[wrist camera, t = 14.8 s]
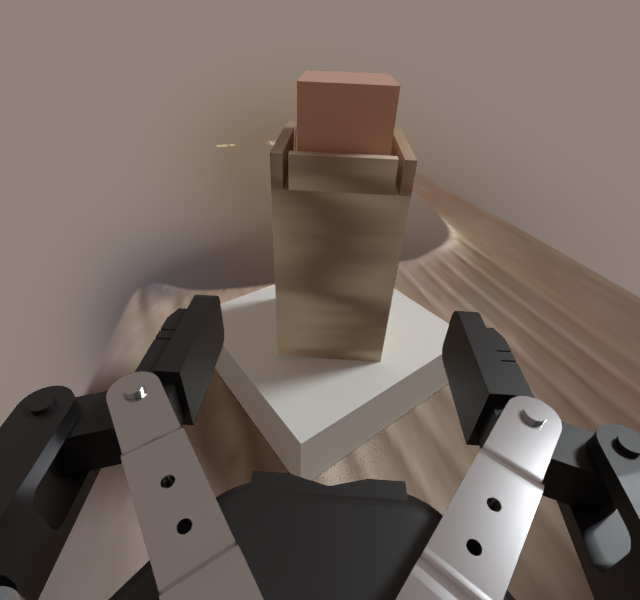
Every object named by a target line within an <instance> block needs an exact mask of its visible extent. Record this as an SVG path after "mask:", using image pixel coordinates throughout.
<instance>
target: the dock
mask: <svg viewBox="0 0 640 600" xmlns="http://www.w3.org/2000/svg"><path fill="white" fill-rule="evenodd" d="M220 305H221V312H222V318H223V325H224V343H223V347H222V350H221V353H220V355H219V358H218V361H217V363H216V366H215V369H216V371H217V372H218V374H219V375H220V376H221V378H222V379H223V380H224V382H225V383H226V385H227V386H228V387H229V389H230V390H231V392H232V393H233V394H234V396H235V397H236V399H237V400H238V401H239V403H240V404H241V406H242V407H243V408H244V410H245V411H246V413H247V414H248V415H249V417H250V418H251V420H252V421H253V422H254V424H255V425H256V427H257V428H258V429H259V431H260V432H261V434H262V435H263V436H264V438H265V439H266V441H267V442H268V443H269V445H270V446H271V448H272V449H273V450H274V452H275V453H276V455H277V456H278V457H279V459H280V460H281V462H282V463H283V464H284V466H285V467H286V469H287V470H288V471H289V473H290V474H293V475H296V476H299V477H302V478H305V479H308V480H313V479H314V478H316V477H317V476H318V475H320V474H321V473H323V472H324V471H325V470H327V469H328V468H330V467H331V466H332V465H334V464H335V463H337V462H338V461H340V460H341V459H342V458H344V457H345V456H347V455H348V454H349V453H351V452H352V451H354V450H355V449H356V448H358V447H359V446H361V445H362V444H364V443H365V442H366V441H368V440H369V439H371V438H372V437H373V436H375V435H376V434H378V433H379V432H380V431H382V430H383V429H385V428H386V427H388V426H389V425H390V424H392V423H393V422H395V421H396V420H397V419H399V418H400V417H402V416H403V415H404V414H406V413H407V412H409V411H410V410H411V409H413V408H414V407H416V406H417V405H419V404H420V403H421V402H423V401H424V400H426V399H427V398H428V397H430V396H431V395H433V394H434V393H435V392H437V391H438V390H440V389H441V388H443V387H444V386H445V385H447V384H448V383H449V382H448V378H447V375H446V371H445V368H444V364H443V360H442V347H443V343H444V340H445V336H446V333H447V330H448V327H449V324H448V323H446V322H445V321H443V320H442V319H440V318H439V317H437V316H436V315H434V314H432V313H431V312H429V311H428V310H426V309H425V308H423V307H422V306H420V305H419V304H417V303H416V302H414V301H412V300H411V299H409V298H408V297H406V296H405V295H403V294H402V293H400V292H399V291H397V290H396V289H394V291H393V296H392V302H391V307H390V313H389V318H388V324H387V329H386V335H385V340H384V346H383V351H382V357H381V362H375V361H359V360H342V359H326V358H309V357H293V356H278V342H277V317H276V292H275V284H274V285H271V286H268V287H266V288H263V289H260V290H257V291H255V292H252V293H249V294H247V295H244V296H241V297H238V298H236V299H233V300H230V301H227V302H225V303H222V304H220Z"/></svg>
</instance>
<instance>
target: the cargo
mask: <svg viewBox="0 0 640 600" xmlns="http://www.w3.org/2000/svg"><path fill="white" fill-rule="evenodd" d="M399 90H400V85H399V84H398V83H397V82H396V80H395V79H394V78H393V77H392V76H391V75H390V74H377V73H357V72H336V71H335V72H334V71H314V70H305V71H304V73H303V74H302V75H301V77H300V78H299V79H298V81H297V151H308V152H328V153H347V154H367V155H387V156H390V155H391V148H392V141H393V133H394V126H395V119H396V111H397V105H398V98H399Z"/></svg>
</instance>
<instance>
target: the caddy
mask: <svg viewBox="0 0 640 600" xmlns="http://www.w3.org/2000/svg"><path fill="white" fill-rule="evenodd" d="M416 165H417V159H416V157H415V155H414V153H413V151H412V149H411V148H410V146H409V144H408V142H407V140H406V138H405V136H404V134H403V132H402V130H401V128H400V127H394V133H393V141H392V148H391V155H390V156H387V155H367V154H347V153H328V152H308V151H297V122H290V121H289V122H288V121H287V123H286V125H285V126H284V128H283V130H282V132H281V134H280V136H279V137H278V139H277V141H276V143H275V145H274V146H273V149H272V150H271V152H270V167H271V193H272V217H273V242H274V266H275V292H276V317H277V342H278V356H293V357H309V358H326V359H342V360H359V361H375V362H381V357H382V351H383V346H384V340H385V335H386V329H387V324H388V318H389V313H390V307H391V302H392V296H393V291H394V286H395V280H396V275H397V269H398V264H399V258H400V253H401V247H402V242H403V236H404V231H405V225H406V220H407V214H408V208H409V203H410V198H411V193H412V187H413V182H414V176H415V171H416Z"/></svg>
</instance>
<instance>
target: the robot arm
mask: <svg viewBox="0 0 640 600" xmlns="http://www.w3.org/2000/svg"><path fill="white" fill-rule="evenodd" d="M223 343H224V325H223V318H222V312H221V305H220V299H219V297H218V296H209V295H195V296H194V297H193V299H192V301H191V303H190V305H189V306H188V308H187V309H182V308H179V309H178V310H176V311H175V312H174V313H173V314H171V315H170V316H169V317H167V319H166V321H165V322H164V324H163V326H162V327H161V331H159V333H158V334H157V336H156V339H155V340H154V341H153V343H152V344H151V346H150V348H149V349H148V351H147V353H146V354H145V356H144V358H143V359H142V361H141V363H140V364H139V366H138V368H137V369H136V371H135V372H134V373H130V374H128V375H125V376H123V377H121V378H120V379H118V380H117V381H116V382H114V383H113V384H112V386H111V387H110V388H109V390H108V391H105V392H101V393H95V394H90V395H85V396H80V397H75V396H74V394H73V392H72V391H71V390H70V389H69V388H67V387H63V386H51V387H46V388H43V389H40V390H38V391H35V392H33V393H32V394H30V395H28V396H27V397H26V398H24V399H23V400H22V401H21V402H20V403H19V404H18V405H17V406H16V408H15V409H14V410H13V411H12V413H11V414H10V415H9V417H8V418H7V419H6V421H5V422H4V423H3V424H2V426H1V427H0V600H38V599H39V596H40V594H41V592H42V590H43V588H44V586H45V584H46V582H47V580H48V578H49V576H50V573H51V571H52V569H53V567H54V565H55V563H56V561H57V559H58V557H59V555H60V553H61V550H62V548H63V546H64V544H65V542H66V540H67V538H68V536H69V534H70V532H71V530H72V527H73V525H74V523H75V521H76V519H77V517H78V515H79V513H80V511H81V509H82V507H83V504H84V502H85V500H86V498H87V496H88V494H89V492H90V490H91V488H92V486H93V484H94V481H95V479H96V477H97V475H98V473H99V471H100V469H101V468H104V467H108V466H113V465H117V464H121V463H122V465H123V468H124V472H125V475H126V479H127V482H128V486H129V489H130V493H131V496H132V500H133V503H134V507H135V510H136V514H137V517H138V521H139V524H140V528H141V531H142V535H143V538H144V542H145V545H146V549H147V552H148V556H149V559H150V560H149V561H148V562H147V563H146V564H145V565H144V566H143V567H142V568H141V569H140V570H139V571H138V572H137V573H136V574H135V575H134V576H133V577H132V578H131V579H130V580H129V581H128V582H126V583H125V584H124V585H123V586H122V587H121V588H120V589H119V590H118V591H117V592H116V593H115V594H114V595H113V596H112V597H111V598H110V599H109V600H515V599H514V598H513V596H512V595H511V594H510V593H509V592H508V591H507V587H508V585H509V582H510V579H511V577H512V574H513V571H514V569H515V566H516V563H517V561H518V558H519V555H520V552H521V550H522V547H523V544H524V542H525V539H526V536H527V534H528V531H529V528H530V526H531V523H532V520H533V517H534V515H535V512H536V509H537V507H538V504H539V501H540V499H541V496H542V495H543V496H546V497H549V498H551V499H554V500H557V502H558V505H559V508H560V510H561V513H562V515H563V518H564V521H565V523H566V526H567V529H568V531H569V534H570V536H571V539H572V542H573V544H574V547H575V549H576V552H577V555H578V557H579V560H580V563H581V565H582V568H583V570H584V573H585V576H586V578H587V581H588V583H589V586H590V589H591V591H592V594H593V596H594V599H595V600H640V433H638V432H636V431H635V430H633V429H631V428H629V427H626V426H623V425H620V424H615V423H607V424H603V425H601V426H600V427H599V428H598V429H597V431H596V432H591V431H588V430H585V429H582V428H579V427H576V426H573V425H569V424H567V423H564V422H562V421H561V420H560V418H559V416H558V415H557V413H556V412H555V411H554V410H553V409H552V408H551V407H550V406H548V405H547V404H545V403H544V402H542V401H540V400H538V399H535V398H534V396H533V394H532V392H531V390H530V388H529V386H528V384H527V382H526V380H525V378H524V376H523V374H522V372H521V370H520V368H519V366H518V364H517V363H516V360H515V358H514V356H513V354H512V353H511V350H510V348H509V346H508V344H507V342H506V340H505V339H504V338H503V337H502V336H501V335H500V334H499V333H498V332H497V331H496V330H495V329H494V328H486V327H485V325H484V322H483V320H482V318H481V316H480V314H479V313H478V312H464V311H454V313H453V314H452V317H451V320H450V323H449V327H448V330H447V333H446V336H445V340H444V343H443V347H442V360H443V364H444V368H445V371H446V375H447V378H448V382H449V385H450V389H451V392H452V396H453V399H454V403H455V406H456V410H457V413H458V417H459V420H460V424H461V427H462V431H463V434H464V437H465V441H466V444H467V445H480V448H481V450H480V451H479V453H478V455H477V457H476V458H475V460H474V462H473V464H472V466H471V467H470V469H469V471H468V473H467V474H466V476H465V478H464V480H463V482H462V483H461V485H460V487H459V489H458V490H457V492H456V494H455V496H454V498H453V499H452V501H451V503H450V505H449V507H448V508H447V510H446V512H445V514H444V515H443V516H442V515H441V514H440V513H439V512H438V511H436V510H435V509H434V508H433V507H431V506H430V505H428V504H427V503H425V502H423V501H422V500H420V499H418V498H416V497H413V496H411V495H408V494H407V492H406V484H405V482H403V481H389V480H374V479H365V480H360V481H355V482H350V483H344V484H339V485H334V486H326V485H323V484H320V483H317V482H314V481H311V480H308V479H305V478H302V477H299V476H296V475H293V474H288V473H274V472H259V471H253V475H252V480H251V483H248V484H244V485H241V486H237V487H235V488H233V489H230V490H228V491H226V492H224V493H223V494H221V495H219V496H218V497H216V498H215V496H214V493H213V491H212V489H211V487H210V485H209V482H208V480H207V478H206V476H205V474H204V471H203V469H202V467H201V465H200V463H199V460H198V458H197V456H196V454H195V452H194V449H193V447H192V445H191V443H190V441H189V438H188V436H187V434H186V432H185V430H184V428H183V427H182V426H181V425H182V424H185V425H194V422H195V420H196V417H197V414H198V412H199V409H200V406H201V404H202V401H203V398H204V396H205V393H206V390H207V388H208V385H209V382H210V380H211V377H212V374H213V372H214V369H215V366H216V363H217V361H218V358H219V355H220V353H221V350H222V347H223Z"/></svg>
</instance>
